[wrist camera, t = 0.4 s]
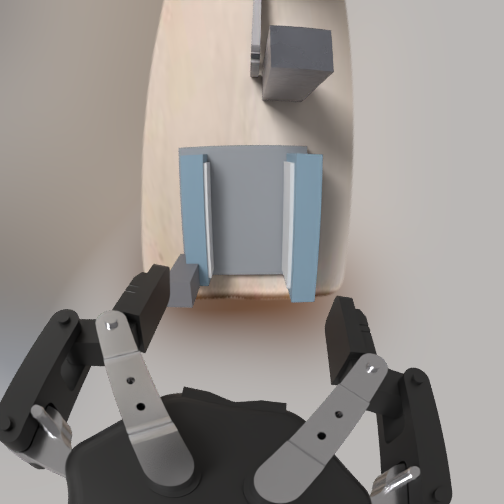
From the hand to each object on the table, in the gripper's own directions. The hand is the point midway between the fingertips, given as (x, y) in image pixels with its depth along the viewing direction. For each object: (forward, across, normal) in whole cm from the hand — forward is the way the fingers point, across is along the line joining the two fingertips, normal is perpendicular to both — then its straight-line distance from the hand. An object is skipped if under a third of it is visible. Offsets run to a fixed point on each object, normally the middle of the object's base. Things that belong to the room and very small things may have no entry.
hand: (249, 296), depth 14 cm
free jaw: (+23, +8, +7) cm, 25 cm away
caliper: (+30, +5, -21) cm, 37 cm away
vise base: (+25, +2, +6) cm, 25 cm away
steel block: (+28, 0, -11) cm, 30 cm away
